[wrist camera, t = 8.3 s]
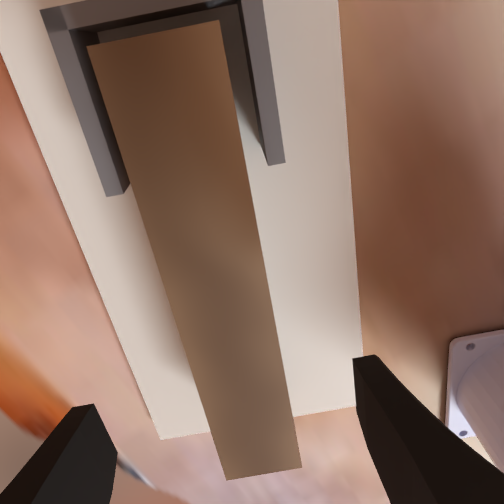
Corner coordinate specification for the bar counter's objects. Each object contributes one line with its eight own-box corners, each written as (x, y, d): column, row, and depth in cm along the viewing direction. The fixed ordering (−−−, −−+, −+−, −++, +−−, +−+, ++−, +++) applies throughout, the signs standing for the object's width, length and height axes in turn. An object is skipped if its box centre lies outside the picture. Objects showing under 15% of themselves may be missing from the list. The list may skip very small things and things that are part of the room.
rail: (220, 26, 15) (218, 20, 11) (288, 392, 23) (302, 467, 19) (123, 46, 15) (86, 46, 11) (226, 403, 23) (226, 480, 19)
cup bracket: (326, -64, 14) (359, -98, 11) (361, 390, 24) (384, 450, 21) (-6, 5, 15) (-79, -7, 11) (162, 426, 25) (152, 490, 21)
